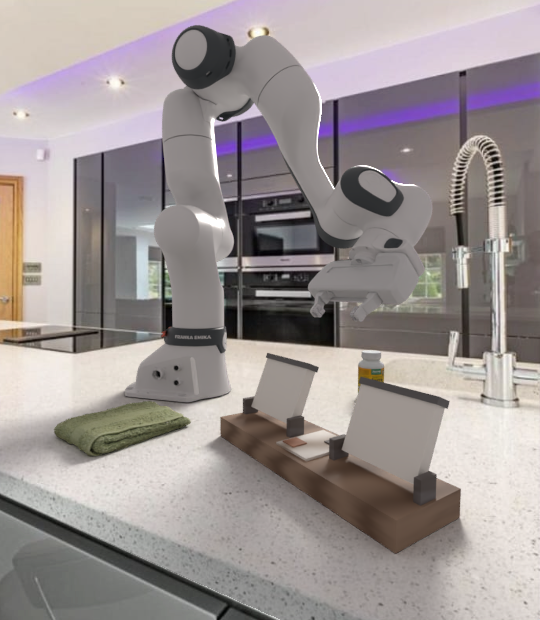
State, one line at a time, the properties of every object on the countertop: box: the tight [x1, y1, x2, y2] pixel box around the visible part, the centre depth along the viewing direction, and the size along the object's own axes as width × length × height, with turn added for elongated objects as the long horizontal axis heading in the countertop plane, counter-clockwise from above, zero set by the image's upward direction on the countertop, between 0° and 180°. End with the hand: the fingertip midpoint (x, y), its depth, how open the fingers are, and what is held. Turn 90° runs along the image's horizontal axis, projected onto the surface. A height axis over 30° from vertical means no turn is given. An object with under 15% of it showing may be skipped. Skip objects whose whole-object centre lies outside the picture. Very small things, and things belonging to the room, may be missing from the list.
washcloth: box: [53, 400, 192, 457], centre depth 65 cm, size 13×18×3 cm
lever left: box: [251, 352, 319, 424], centre depth 61 cm, size 10×2×9 cm, turn 34°
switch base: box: [219, 395, 462, 554], centre depth 52 cm, size 33×10×5 cm, turn 34°
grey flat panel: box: [342, 377, 450, 484], centre depth 44 cm, size 10×2×9 cm, turn 34°
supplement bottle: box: [357, 349, 385, 393], centre depth 85 cm, size 5×5×10 cm
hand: (333, 316), depth 66 cm, fingers open, 8 cm apart
